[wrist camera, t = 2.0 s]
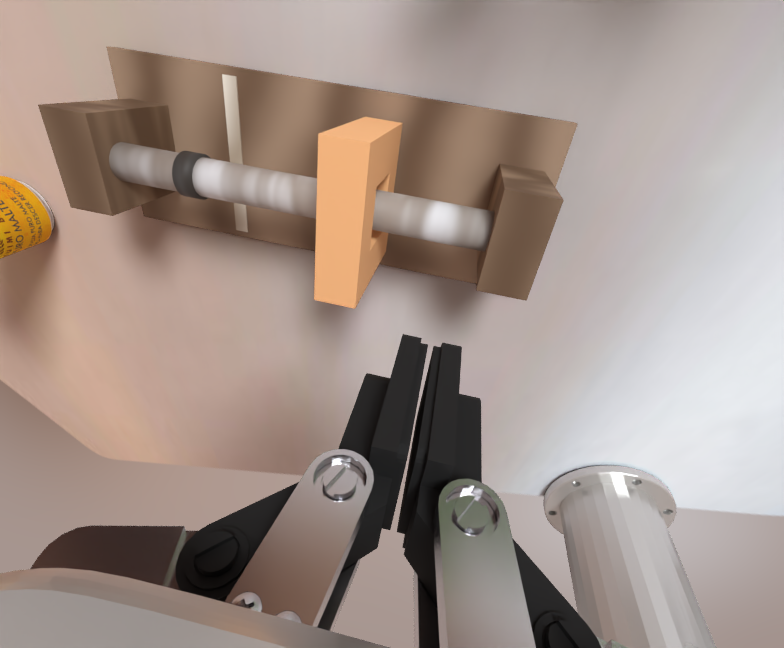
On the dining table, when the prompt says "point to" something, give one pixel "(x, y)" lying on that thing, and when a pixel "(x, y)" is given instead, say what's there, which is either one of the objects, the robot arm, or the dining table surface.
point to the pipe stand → (314, 164)
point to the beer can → (22, 217)
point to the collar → (351, 205)
